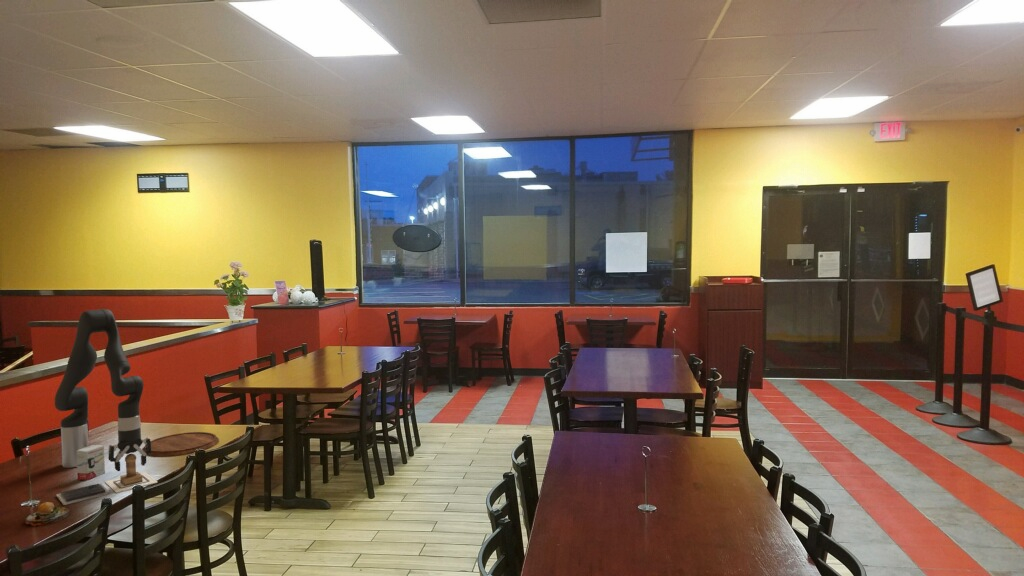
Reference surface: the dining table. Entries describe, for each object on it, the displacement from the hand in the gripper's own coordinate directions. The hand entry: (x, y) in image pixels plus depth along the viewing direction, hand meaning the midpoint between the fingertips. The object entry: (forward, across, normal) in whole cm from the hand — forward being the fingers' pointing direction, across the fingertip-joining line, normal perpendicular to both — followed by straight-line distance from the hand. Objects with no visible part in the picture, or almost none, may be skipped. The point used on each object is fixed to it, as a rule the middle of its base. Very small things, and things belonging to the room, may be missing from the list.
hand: (130, 467), depth 235 cm
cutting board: (+7, -30, -36) cm, 47 cm away
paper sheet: (+6, 0, 0) cm, 6 cm away
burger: (+6, +29, +16) cm, 34 cm away
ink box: (+6, +9, -20) cm, 23 cm away
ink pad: (+6, +16, +1) cm, 17 cm away
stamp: (+6, 0, 0) cm, 6 cm away
